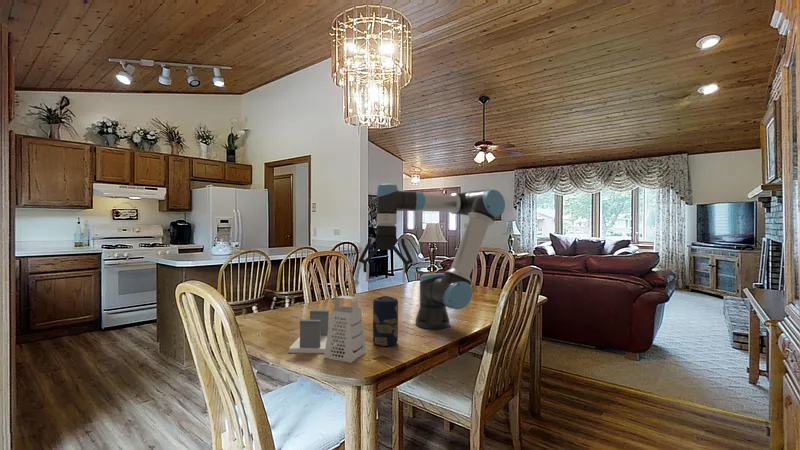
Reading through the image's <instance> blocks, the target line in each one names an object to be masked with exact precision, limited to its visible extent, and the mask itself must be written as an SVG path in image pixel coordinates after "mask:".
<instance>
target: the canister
mask: <svg viewBox="0 0 800 450" xmlns="http://www.w3.org/2000/svg"><path fill="white" fill-rule="evenodd" d="M372 303H373V304H372V336H373V337H372V342H373V344H375V345H378V346H384V347H385V346H386V347H389V346H393V345H395V344H397V342H398V339H399V301H398V298H396V297H392V296H388V295H382V296H380V297H376V298H375V299H373V301H372Z"/></svg>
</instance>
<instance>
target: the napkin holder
mask: <svg viewBox="0 0 800 450" xmlns="http://www.w3.org/2000/svg"><path fill="white" fill-rule="evenodd" d="M329 313H330V310H329V309H327V310H326V309H323V310H322V309H311V310H309V319H300V320H299V336H298V337H297V338H296V340H295V341H293V343H292V345H290V346H289V348H288V352H289V353H290V354H292V353H293V354H294V353H295V354H297V353H298V354H325V347H326V341H327V334H328V328H329V321H330V314H329Z"/></svg>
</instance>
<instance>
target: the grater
mask: <svg viewBox="0 0 800 450" xmlns="http://www.w3.org/2000/svg"><path fill="white" fill-rule="evenodd" d="M341 299H346V300H347V299H349V300H350V301H351V302H352V307H351V306H344V305H343V306H341V304H340V303H341V302H340V301H341ZM361 309H362V308H360V307H359V300H358V298H357V296H350V295H339V296H337V297H335V298H334V300H333V309H332V310H331V311H330V314H329V322H328V334H327V341H326V347H325V353H323V357H324V359H328V358H329V360H334V361H335V360H336V361H339V360H340V362H345V361H346V363H350V362H351V363H352V361H353V362H354V361H356V360H357V359H359V358H360V357H362V356H363V355H364V354H366V353H367V349H366V340H365V333H364V324H363V317H362V310H361ZM340 352H341V353H340ZM339 355H340V356H339ZM361 355H362V356H361ZM342 356H343V357H342ZM358 357H359V358H358ZM355 359H356V360H355Z"/></svg>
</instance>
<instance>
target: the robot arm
mask: <svg viewBox="0 0 800 450" xmlns="http://www.w3.org/2000/svg"><path fill="white" fill-rule="evenodd" d="M505 209H506V201H505V198H504V196H503V194H502V193H501V192H500V191H499V190H496V189H489V188H488V189H484V190H483V189H482V190H471V191H467V192H465V191H464V192H459V193H457V192H454V193H451V194H430V193H429V194H426V193H425V194H424V193H423V192H421V191H417V190H413V191H412V190H401V189H400V190H399V189H398V185H397V184H393V183H381V184H378V186H377V193H376V224H377V225H376V237H375V238H373V237H368V239H367V243H366V245H365V247H364V249H363V252H362V253H361V255H360V257H359V259H358V262H359V263H362V264H363V267H362V268H363V270H362V271H363V273H366V274H365V275H366V276H365V279H366V280H365V282H366V283H367V282H369V281H370V263H368V262H369V261H370V260H371V259H372V258H373V257H374V256H375V254H376V253H377V252H378V251H379V249H380V250H382V251H385V250H387V251H392V250H393V251H394V252H395V254H396V255H397V256H398V258H399V259H400V260H401V261H402V262H403V264H402V283H405V282H406V281H405V280H406V278H405V275H406V274H408V273H409V265H410V264H412V263H413V262H414V260H413V259H412V256H411V255H410V252H409V249H408V248H407V245H406V243H405V238H397V226H396V225H397V223H398V222H397V221H398V220H397V219H398V212H437V213H438V212H440V213H442V212H443V213H444V212H448V213H450V214H451V215H461V216H468V218H469V220H468V224H467V225H466V228H465V231H464V233H463V236H462V238H461V241H460V243H459V246H458V249H457V251H456V253H455V256H454V259H453V262H452V263H451V266H450V268H449V269H447V270H445V272H444V273H443V272H437V273H435V272H434V273H423V274H421V275H420V278H419V308H418V311H417V315H416V317H415V325H416V326H417V327H420V328H422V329H428V330H441V329H446V328H448V327H450V317H449V315H448V311H447V308H448V309H453V310H462V309H464V308H466V307H467V306H468V305H469V304H470V303H471V301H472V298H473V291H472V290H473V288H472V287H471V283H472V280H471V277H470V276H471V273H472V271H473V268H474V265H475V262H476V260H477V257H478V254H479V252H480V250H481V247H482V245H483V242H484V238H485V237H486V234H487V232H488V230H489V229H488V228H489V226H492V225H494V223H495V221H496V218H497V217H499V216H502V215H503V213H504V211H505ZM374 242H375V244H376V245H377V246H376V247H375V248H374V249H373V250H372V251H371V253H370V254H369V255H368V256H367V257H366V255H367V253H368V251H369V249H370V247H371V245H372V244H374ZM397 243H398V244H400V245H401V247H402V248H403V251H404V254H405V255H406V257H407V258H405V256H404V255H403V254H402V252H400V250H399V249H398V247H396V245H397ZM365 257H366V258H365ZM364 258H365V259H364Z"/></svg>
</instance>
